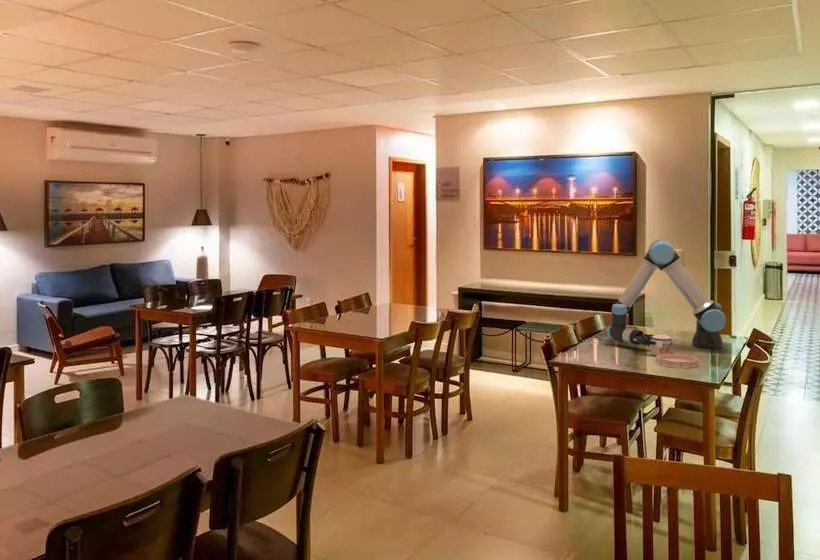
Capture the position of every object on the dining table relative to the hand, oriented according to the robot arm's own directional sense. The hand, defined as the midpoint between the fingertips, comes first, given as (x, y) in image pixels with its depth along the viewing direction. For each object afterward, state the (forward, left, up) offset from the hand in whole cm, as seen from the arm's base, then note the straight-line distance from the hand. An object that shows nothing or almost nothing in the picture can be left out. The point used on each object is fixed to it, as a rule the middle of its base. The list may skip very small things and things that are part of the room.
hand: (670, 343), depth 330 cm
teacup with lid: (0, -4, -7) cm, 8 cm away
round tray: (+12, +12, -7) cm, 18 cm away
